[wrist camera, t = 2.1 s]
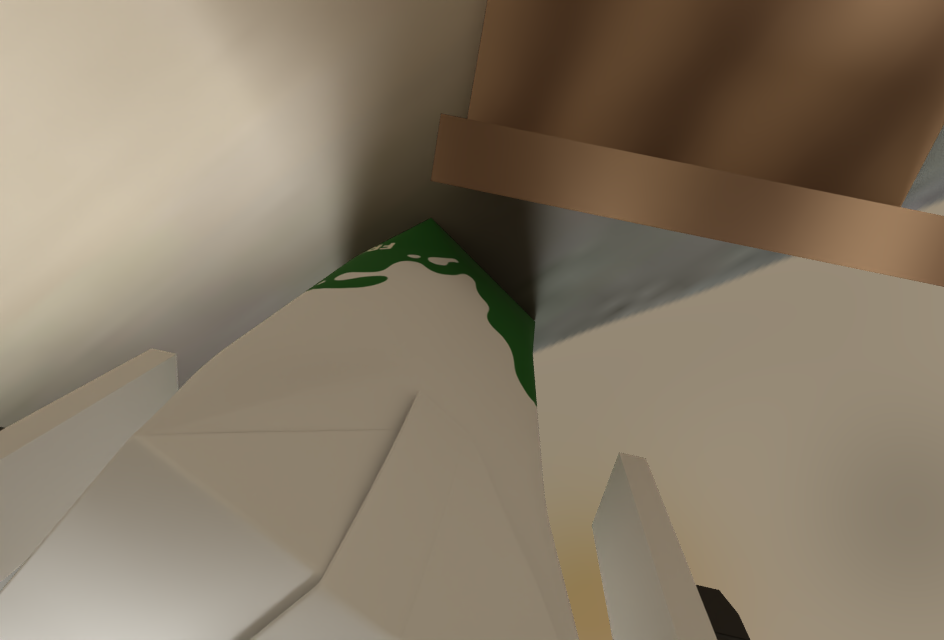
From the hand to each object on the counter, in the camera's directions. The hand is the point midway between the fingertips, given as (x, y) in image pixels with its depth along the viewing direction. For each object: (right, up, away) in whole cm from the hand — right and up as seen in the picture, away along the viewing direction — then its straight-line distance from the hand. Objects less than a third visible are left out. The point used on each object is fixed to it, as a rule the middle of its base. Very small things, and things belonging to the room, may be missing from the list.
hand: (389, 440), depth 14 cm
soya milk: (+1, +4, +10) cm, 11 cm away
